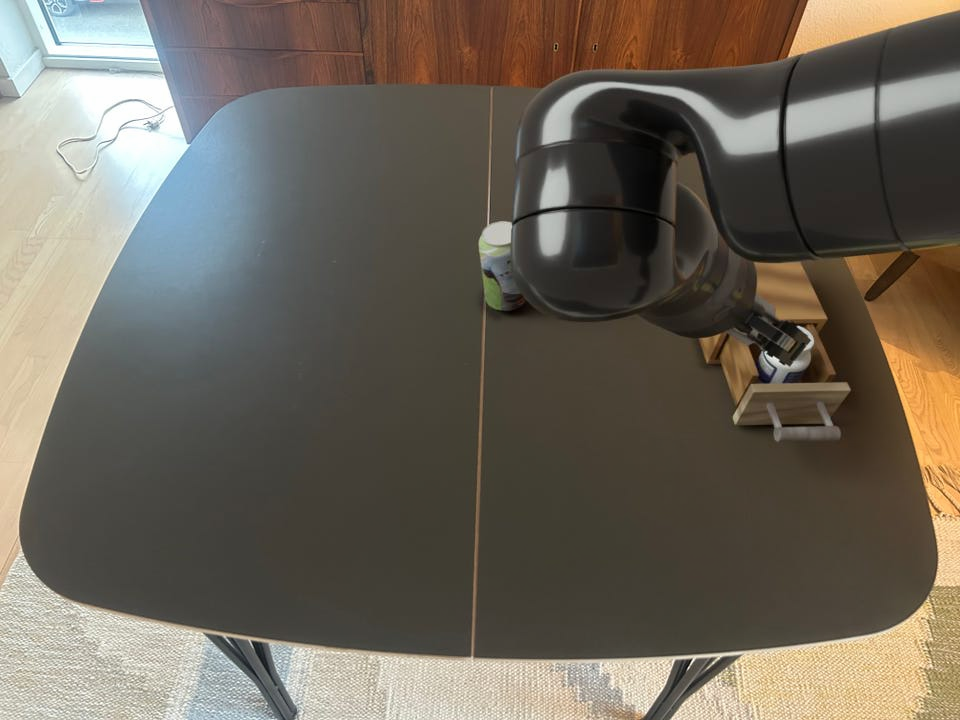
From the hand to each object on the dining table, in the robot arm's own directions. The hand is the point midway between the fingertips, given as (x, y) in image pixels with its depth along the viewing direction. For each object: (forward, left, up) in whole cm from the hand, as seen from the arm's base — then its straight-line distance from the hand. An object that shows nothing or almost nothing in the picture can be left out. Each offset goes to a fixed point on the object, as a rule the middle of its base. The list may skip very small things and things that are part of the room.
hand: (731, 309), depth 59 cm
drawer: (-2, -20, -28) cm, 34 cm away
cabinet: (+8, -29, -29) cm, 41 cm away
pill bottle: (-2, -20, -27) cm, 34 cm away
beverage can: (+32, -7, -29) cm, 44 cm away
